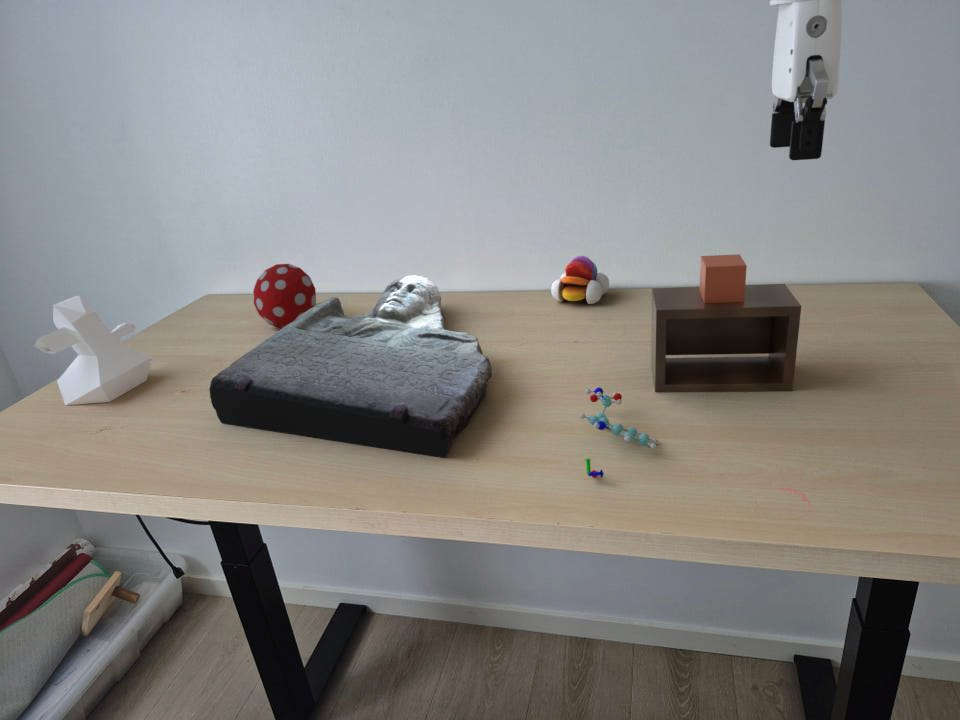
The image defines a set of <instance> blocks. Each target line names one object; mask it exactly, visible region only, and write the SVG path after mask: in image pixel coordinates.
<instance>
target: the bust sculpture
mask: <svg viewBox="0 0 960 720" xmlns="http://www.w3.org/2000/svg"><path fill="white" fill-rule="evenodd" d="M441 309H442V295H441V292H440V291H439V288H438V286H437V285H436V284H435V283H434V282H433V281H432V280H431V279H430V278H428V277H426V276H421V275H406V276H402V277H399V278H397V279H395V280H393V281H392V282H390V283H389V284H388V285H387V286H386V288H385V289H384V291H383V292H382V293H381V295H380V297H379V298H378V300H377V302H376V304H375V306H374V307H373V309H372V310H371V311H370V312H369V313H366V314H360V315H359V314H357V315H350V316H349V315H346V314H345V311H344V309H343V306H342V303H341V300H340V299H339V297H336V296H331V297H329V298H327V299H325V300H324V301H322V302H321V303H317V304H315V306H314V307H313V308H311V309H309V310H307V311H306V312H305V313H303V314H302V315H300V316H299V317H298V318H296V319H295V320H294V321H293V322H291V323H289V324H288V325H286V326H285V327H283V328H282V329H280V328H279V330H277V331H276V332H274V333H273V334H272V335H270V336H269V337H267V338H266V339H265V340H263V341H262V342H261V343H259V344H257V346H255V347H253V348H252V349H251V350H250V351H249V350H248V351H247V352H246V353H244V354H243V355H242V356H241V357H239V358H237V359H236V360H235V361H233V362H232V363H231V364H230V365H229V366H227V367H226V368H224V369H222V370H221V371H219V372H218V373H217V374H216V375H215V376H213V377H212V379H211V381H210V384H209V389H208V390H209V399H210V403H211V405H212V408H213V409H214V410H215V413H216V416H217V419H218V420H219V422H220V423H221V424H224V425H225V424H226V425H232V426H237V427H245V428H251V429H257V430H263V431H269V432H275V433H282V434H289V435H295V436H301V437H308V438H314V439H320V440H327V441H333V442H340V443H346V444H352V445H353V444H354V445H359V446H366V447H372V448H377V449H378V448H379V449H384V450H391V451H397V452H405V453H411V454H417V455H423V456H428V457H436V458H443V459H446V457H447V456H448V454H449V452H450V450H451V448H452V446H453V443H454V440H455V439H456V437H458V435H459V434H461V432H462V431H463V430H464V429H465V428H466V427H467V426H468V425H469V423H470V422H471V420H472V418H473V416H474V415H475V413H476V411H477V409H478V408H479V406H480V404H481V402H482V401H483V399H484V398H485V397H486V396H487V392H488V384H489V381H490V379H491V378H492V371H493V370H492V364H491V361H490V358H488V357H487V356H486V355H484V353H483V350H482V348H481V345H480V343H479V339H478V337H477V336H475V335H471V334H470V333H469V332H465V331H464V332H461V331H453V330H448V329H446V328H445V320H444V316H443V315H442V310H441Z"/></svg>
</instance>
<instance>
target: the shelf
mask: <svg viewBox="0 0 960 720" xmlns="http://www.w3.org/2000/svg"><path fill="white" fill-rule="evenodd" d="M699 290H700V286H678V287H677V286H676V287H652V288H651V315H650V316H651V317H650V318H651V319H650V321H651V323H650V324H651V325H650V327H651V328H650V330H651V331H650V368H652V369H651V374H652V381H653V387H654V392H655V393H683V392H684V393H687V392H688V393H691V392H692V393H693V392H700V393H701V392H702V393H703V392H705V393H706V392H707V393H709V392H793V390H794V381H795V380H794V379H795V370H796V362H797V361H796V360H797V352H798V344H799V343H798V342H799V331H800V323H801V315H802V305H801V304H800V302H799V301H798V299H797V298H796V297H795V295H794V294H793V293H792V291H791V290H790V289H789V287H788V286H787V285H786V283H773V284H772V283H769V284H745V297H744V302H732V303H704V301H703V299H702V296H701V293H700V291H699ZM762 354H763V356H762ZM766 354H768V355H766ZM702 355H703V356H704V357H703V356H702ZM705 355H706V356H705ZM708 355H709V356H708ZM710 355H711V356H710ZM712 355H761V356H712ZM764 355H765V356H764ZM667 356H695V357H667ZM696 356H697V357H696ZM701 356H702V357H701Z"/></svg>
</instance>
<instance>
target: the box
mask: <svg viewBox="0 0 960 720" xmlns="http://www.w3.org/2000/svg"><path fill="white" fill-rule="evenodd" d="M747 266H748V265H747V263H746V262H745V260H744V259H743V257H742V256H741V254H740V253H739V254H719V255H714V254H713V255H700V266H699V267H700V268H699V287H700V290H699V291H700V293H701V296H702V299H703V301H704V303H732V302H744V297H745V285H746V281H747V268H748V267H747Z"/></svg>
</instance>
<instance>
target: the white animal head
mask: <svg viewBox="0 0 960 720" xmlns="http://www.w3.org/2000/svg"><path fill="white" fill-rule="evenodd" d="M52 320H53V325H55V327H56V330H54V331H52V332H49V333H47V334H45V335H42V336H40V337H38V338H37V339H36V341H35V343H34V348H36V349H38V350H40V351H41V352H43V353H44V354H54V355H55V354H56V353H59V352H61V351H63V350H65V349H67V348H70V347H72V349H73V350H74V351H75V353H76V354H77V356H76V357H75V358H74V360H72V362H71V363H70V365H69V366H68V367H67V368H66V369H65V371H64V372H63V373H62V374H61V376H60V377H59V378H58V379H57V380H56V382H57V385H58V388H59V391H60V395H61V397H62V400H63V403H64V406H73V405H75V406H76V405H87V404H101V403H110V402H113V401H114V400H116V399H118V398H120V397H121V396H122V395H125V394H126V393H128V392H129V391H132V390H133V389H135V388H137V387H138V386H140V385H142V384H143V383H145V382H147V380H148V375H149V372H150V368H151V365H152V361H153V356H151V355H148V354H145V353H143V352H140V351H138V350H134V349H132V348H130V347H127V346H124V345H122V342H123V340H122V338H123V337H126V336H128V335H130V334H132V333H134V332H135V330H136V328H137V327H136V325H135V324H134V323H128V322H123V323H120V324H118V325H117V326H115V328H113V329H112V330H110V329H109V327H108V326H106V324H105V323H104V322H103V320H102V319H101V318H100V316H99V315H98V314H97V312H96V311H94V310H93V308H92V307H91V306H90V305H89V304H88V303H87V302H86V301H85V300H84V299H83V298H82V297H81V296H80V295H79V294H77V295H74V296H72V297H69V298H67V299H65V300H62V301H59V302H56V303H54V304H53V305H52ZM121 337H122V338H121Z"/></svg>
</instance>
